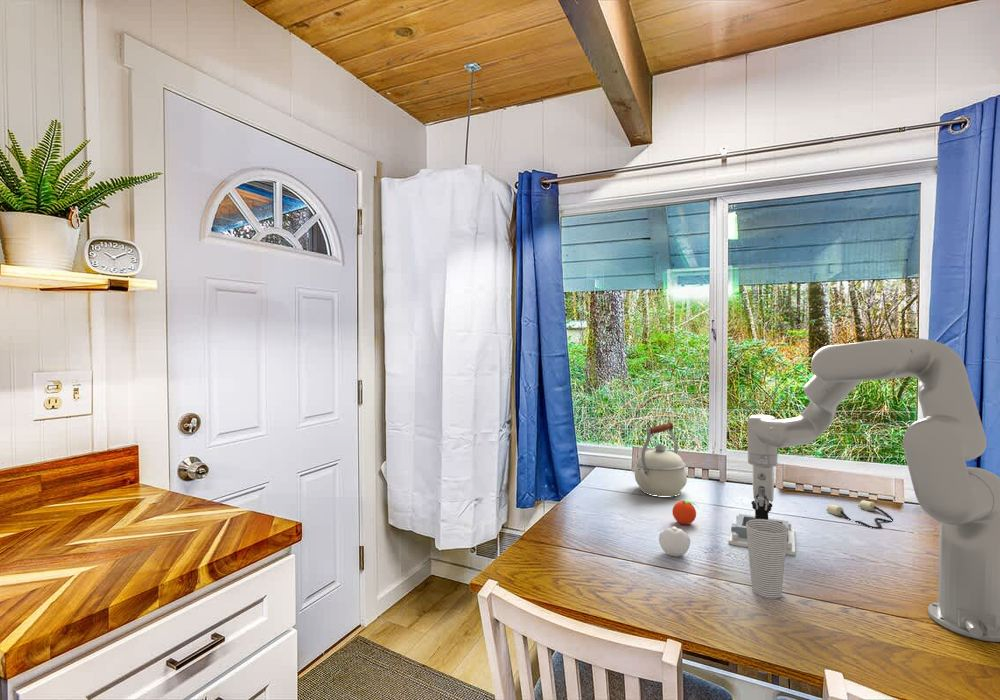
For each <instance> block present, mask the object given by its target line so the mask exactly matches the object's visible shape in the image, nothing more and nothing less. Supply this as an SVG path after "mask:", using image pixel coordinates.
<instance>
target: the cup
mask: <svg viewBox="0 0 1000 700" xmlns="http://www.w3.org/2000/svg"><path fill="white" fill-rule="evenodd" d="M746 528H747V540H748V547H747V548H748V550H747V551H748V560H749V571H750V582H751V591H753V593H754V594H755V595H756V596H759V597H762V598H763V599H769V600H776V599H779V598H781V597H782V595H783V593H782V592H783V584H784V583H783V582H784V574H785V573H784V572H785V562H786V555H787V554H786V545H787V535H788V528H787V527H786V526H785V525H784V524H781V523H779V522H776V521H772V520H767V519H751V520H749V521H747V522H746Z"/></svg>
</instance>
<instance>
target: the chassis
mask: <svg viewBox="0 0 1000 700" xmlns="http://www.w3.org/2000/svg"><path fill="white" fill-rule="evenodd" d="M733 519H734V520H733V522H732V523H731V527H730V529H731V530H730V535H729V539H728V544H729V545H733V546H739V547H745V548H748V540H747V528H746V522H747V521H749V520H751V519H755V515H751V514H750V515H749V514H743V513H738V514H737V515H736V517H735V518H733ZM768 520H772V521H776V522H779V523H781V524H784V525H785V526H786V527H787V528H788V535H787V545H786V555H788V556H789V555H790V556H796V545H795V544H796V542H795V528H794V527H792V523H790V522H789V520H783V519H778V518H777V519H775V518H769V517H768Z"/></svg>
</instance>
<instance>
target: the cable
mask: <svg viewBox="0 0 1000 700" xmlns="http://www.w3.org/2000/svg"><path fill="white" fill-rule="evenodd" d="M857 507H858V508H860V509H861V510H863V509H864V510H863V511H867V510H868V512H871V511H874V512H875V511H876V510H877V511H879V512H880V513H882V514H884V515H885V516H886V517H887V518H888V517H889V518H890V519H891V520H892V521H893V520H894V518H893V517H892V516H891V515H890V514H889V513H887V512H886V511H884V509H881V508H879V507H878V506H877V505H876V503H875V502H874V501H868V500H863V499H862V500H861V501H860V502H859V504H858V506H857ZM825 511H826V512H827V513H828V514H830V515H833V514H834V516H836V515H837V517H842V516H843V517H844V518H845V519H846V520H847V519H849V520H848V521H850V520H853V521H855V522H854V523H857V522H858V524H860V523H861V524H860V525H862V524H863V526H864V525H865V526H864V527H866V526H868V527H867V528H869V527H872V528H871V529H873V528H881V529H882V524H881V523H880V522H879V521H881V522H884V521H888V522H887V523H893V522H892V521H891V520H890V519H889V518H888V519H884V518H882V517H881V518H880V517H875V518H874V519H873V520H874V522H875V524H876V525H877V526H872V525H870V524H867V523H865V522H863V521H860V520H854V519H851V518H850V517H848V515H847V514H846V513H845V512H844V508H843V507H842V506H839V505H836V504H831V503H830V504H828V506H827V509H825ZM853 521H852V522H853Z"/></svg>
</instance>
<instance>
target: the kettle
mask: <svg viewBox="0 0 1000 700" xmlns="http://www.w3.org/2000/svg"><path fill="white" fill-rule="evenodd" d="M673 429H674V424H673V423H672V422H667V423H663V424H658V425H655V426H653V427H647V428H646V440H645V442H644V445H643V447H642V450H641V454H640V455H639V457H638V458H637V459H636V460H635V464H636V467H635V471H634V480H635V482H636V483H637V485H638V486H639V487H640V491H641V490H642V491H643V492H645V493H648V494H651V495H657V496H675V495H678V494H680V495H681V492H682V490H683V489H684V487H686V485H687V482H688V477H687V472H686V469H685V467H686V466H687V465H686V462H684V461H683V459H682V457H681V456H680V455H679V454H678V452H679V443H678V441H677V438H676V437H675V436H674V432H673ZM666 431H669V435H670V438H671V439H672V441H673V444H674V446H673V447H674V449H673V451H670V450H667V447H665V445H663V444H662V443H659V444H657V445H655V446H654V449H649V450H647V449H648V446H649V444H650V442H651V437H652V436H651V435H653V434H659V433H663V432H666ZM642 491H641V492H642ZM643 492H642V493H643ZM678 496H679V495H678Z"/></svg>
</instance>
